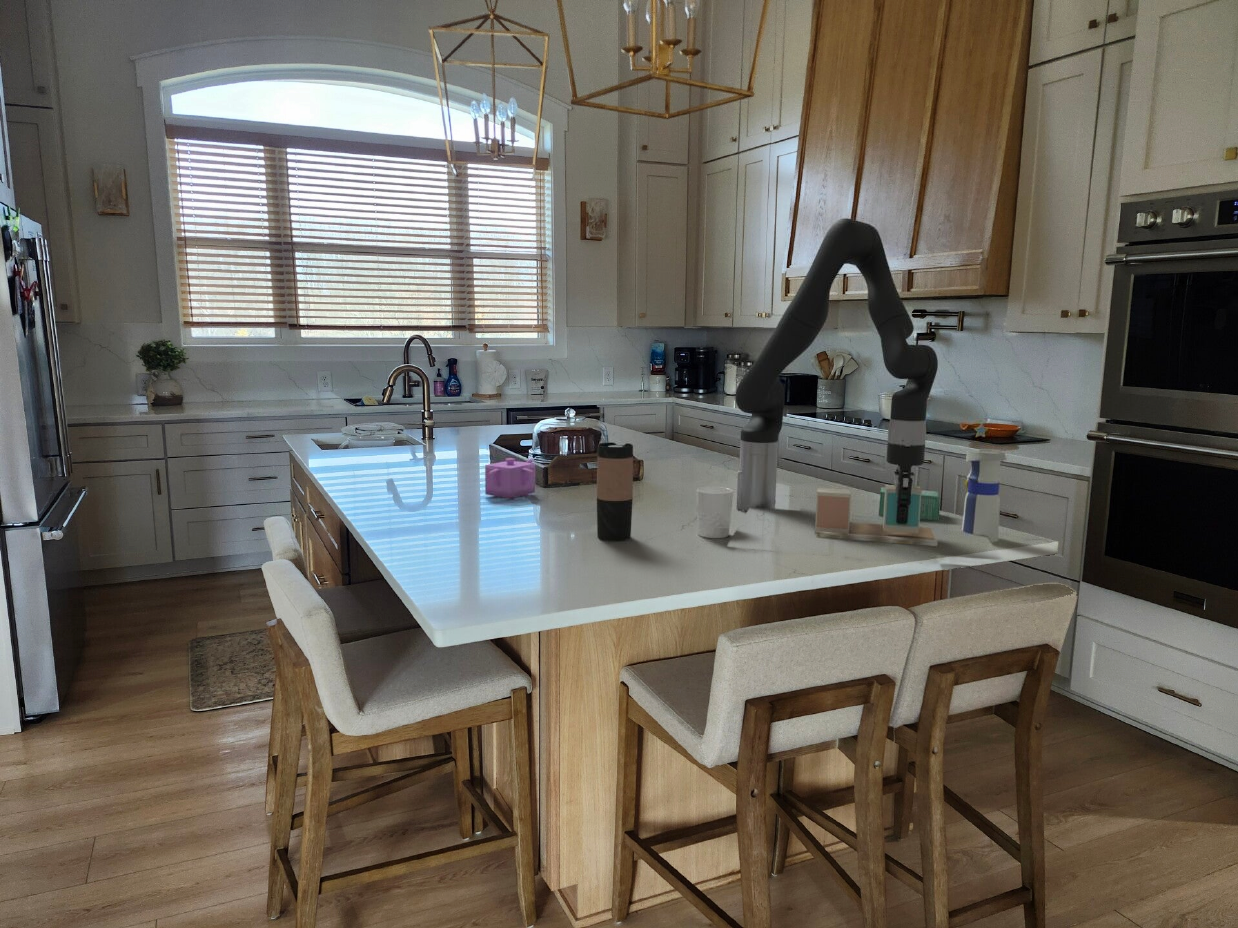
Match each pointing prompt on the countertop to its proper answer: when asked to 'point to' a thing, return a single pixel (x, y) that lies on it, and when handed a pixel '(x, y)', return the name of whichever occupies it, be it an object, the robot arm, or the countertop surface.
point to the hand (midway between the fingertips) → (901, 520)
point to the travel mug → (614, 491)
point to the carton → (891, 511)
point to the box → (928, 504)
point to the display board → (882, 535)
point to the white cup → (714, 511)
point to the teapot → (510, 478)
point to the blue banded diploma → (983, 492)
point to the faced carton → (833, 510)
